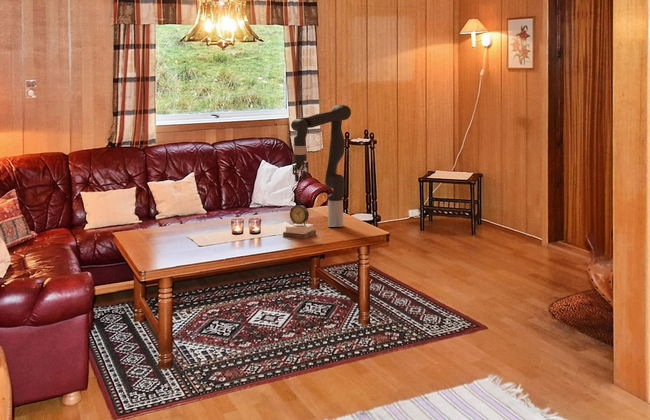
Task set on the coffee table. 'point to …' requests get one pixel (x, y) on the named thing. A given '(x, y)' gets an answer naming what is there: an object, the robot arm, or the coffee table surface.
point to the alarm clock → (299, 214)
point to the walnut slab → (299, 235)
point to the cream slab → (299, 228)
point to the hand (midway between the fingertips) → (300, 180)
